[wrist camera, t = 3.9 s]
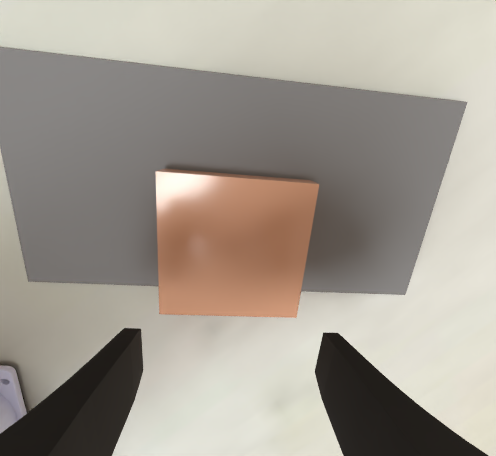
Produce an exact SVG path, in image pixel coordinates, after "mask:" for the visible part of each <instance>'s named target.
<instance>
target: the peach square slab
mask: <svg viewBox="0 0 496 456" xmlns="http://www.w3.org/2000/svg"><path fill="white" fill-rule="evenodd" d="M318 189H319V184H318V183H316V182H313V181H311V180H302V179H289V178H276V177H264V176H251V175H239V174H226V173H213V172H201V171H188V170H176V169H161V170H158V171H156V207H157V243H158V279H159V314H174V315H214V316H254V317H294V318H296V317H297V311H298V305H299V299H300V293H301V288H302V282H303V276H304V270H305V264H306V259H307V253H308V247H309V241H310V236H311V230H312V224H313V218H314V212H315V207H316V201H317V195H318Z"/></svg>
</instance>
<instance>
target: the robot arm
mask: <svg viewBox="0 0 496 456" xmlns="http://www.w3.org/2000/svg"><path fill="white" fill-rule="evenodd" d="M142 373H143V358H142V339H141V329H132V328H124V329H123V330H122V331H121V332H120V333H119V334H117V335H116V336H115V337H114V338H113V339H112V340H111V341H110V342H109V343H108V344H107V345H106V346H105V347H104V348H103V349H102V350H100V351H99V352H98V353H97V354H96V355H95V356H94V357H93V358H92V359H91V360H90V361H89V362H87V363H86V364H85V365H84V366H83V367H82V368H81V369H80V370H79V371H77V372H76V373H75V374H74V375H73V376H72V377H71V378H70V379H68V380H67V381H66V382H65V383H64V384H62V385H61V386H60V387H59V388H58V389H56V390H55V391H54V392H53V393H52V394H50V395H49V396H48V397H47V398H46V399H45V400H43V401H42V402H41V403H40V404H38V405H37V406H36V407H35V408H33V409H32V410H31V411H30V412H28V413H27V412H26V408H25V404H24V400H23V397H22V393H21V389H20V385H19V381H18V377H17V373H16V370H15V369H14V368H13V367H11V366H0V456H112V454H113V451H114V449H115V446H116V444H117V441H118V439H119V437H120V434H121V432H122V429H123V427H124V425H125V422H126V420H127V417H128V415H129V412H130V410H131V407H132V405H133V402H134V400H135V396H136V393H137V390H138V387H139V383H140V380H141V376H142ZM315 374H316V378H317V382H318V386H319V390H320V394H321V397H322V400H323V403H324V406H325V409H326V411H327V414H328V416H329V419H330V422H331V424H332V427H333V430H334V432H335V435H336V437H337V440H338V442H339V445H340V448H341V450H342V453H343V455H344V456H488V455H487V454H485V453H484V452H482V451H481V450H479V449H478V448H476V447H475V446H473V445H472V444H470V443H469V442H467V441H466V440H465V439H463V438H462V437H460V436H459V435H458V434H456V433H455V432H453V431H452V430H451V429H449V428H448V427H447V426H445V425H444V424H443V423H441V422H440V421H439V420H437V419H436V418H435V417H433V416H432V415H431V414H429V413H428V412H427V411H425V410H424V409H423V408H422V407H420V406H419V405H418V404H417V403H415V402H414V401H413V400H412V399H411V398H409V397H408V396H407V395H406V394H405V393H403V392H402V391H401V390H400V389H399V388H397V387H396V386H395V385H394V384H393V383H392V382H391V381H389V380H388V379H387V378H386V377H385V376H384V375H383V374H382V373H380V372H379V371H378V370H377V369H376V368H375V367H374V366H373V365H372V364H371V363H370V362H369V361H367V360H366V359H365V358H364V357H363V356H362V355H361V354H360V353H359V352H358V351H357V350H356V349H355V348H354V347H353V346H351V345H350V344H349V343H348V342H347V341H346V340H345V339H344V338H343V337H342V336H341V335H339V334H338V333H323V337H322V341H321V346H320V350H319V355H318V359H317V364H316V369H315Z"/></svg>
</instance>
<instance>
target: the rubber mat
mask: <svg viewBox="0 0 496 456" xmlns="http://www.w3.org/2000/svg"><path fill="white" fill-rule="evenodd" d="M466 105H467V102H463V101H454V100H446V99H437V98H429V97H420V96H412V95H403V94H395V93H386V92H378V91H369V90H361V89H352V88H344V87H335V86H327V85H318V84H310V83H301V82H293V81H284V80H276V79H267V78H259V77H250V76H242V75H233V74H225V73H216V72H208V71H199V70H191V69H182V68H174V67H165V66H157V65H148V64H140V63H131V62H123V61H114V60H106V59H97V58H89V57H80V56H72V55H63V54H55V53H46V52H38V51H29V50H21V49H12V48H4V47H0V148H1V153H2V158H3V162H4V167H5V172H6V177H7V182H8V186H9V191H10V196H11V201H12V206H13V210H14V215H15V220H16V225H17V230H18V234H19V239H20V244H21V249H22V253H23V258H24V263H25V268H26V273H27V277H28V281H29V282H58V283H86V284H114V285H142V286H159V279H158V243H157V207H156V171H158V170H161V169H176V170H188V171H201V172H213V173H226V174H239V175H251V176H264V177H276V178H289V179H302V180H311V181H313V182H316V183H318V184H319V189H318V195H317V201H316V207H315V212H314V218H313V224H312V230H311V236H310V241H309V247H308V253H307V259H306V264H305V270H304V276H303V282H302V288H301V291H311V292H339V293H368V294H396V295H405V294H406V291H407V288H408V285H409V282H410V279H411V275H412V272H413V269H414V266H415V263H416V260H417V257H418V254H419V251H420V248H421V244H422V241H423V238H424V235H425V232H426V229H427V226H428V223H429V220H430V216H431V213H432V210H433V207H434V204H435V201H436V198H437V195H438V192H439V189H440V185H441V182H442V179H443V176H444V173H445V170H446V167H447V164H448V161H449V157H450V154H451V151H452V148H453V145H454V142H455V139H456V136H457V133H458V130H459V126H460V123H461V120H462V117H463V114H464V111H465V108H466Z"/></svg>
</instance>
